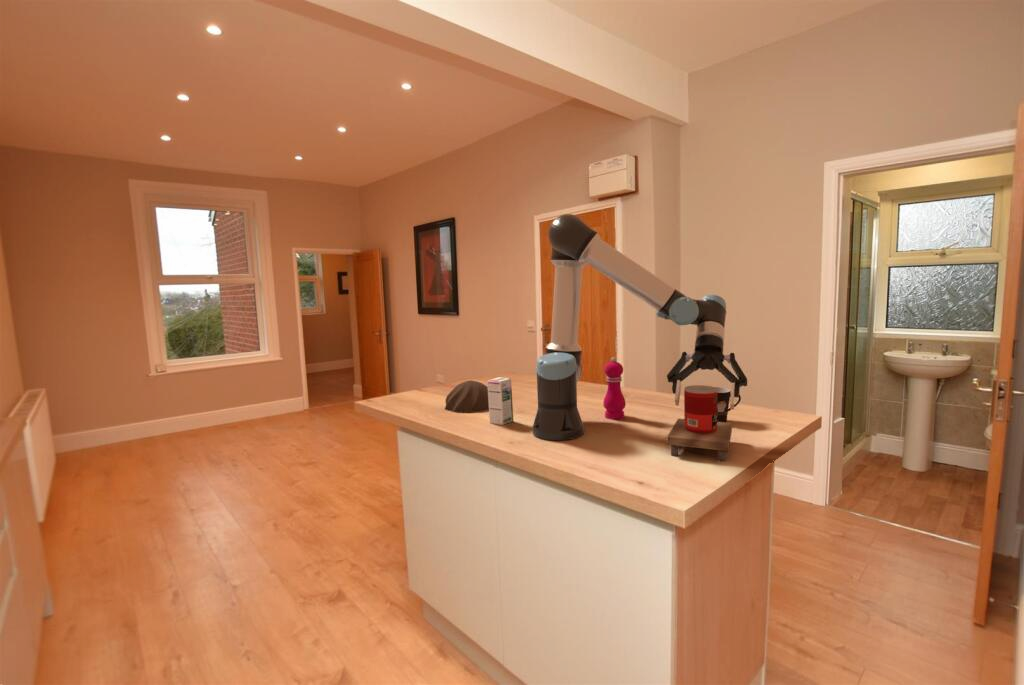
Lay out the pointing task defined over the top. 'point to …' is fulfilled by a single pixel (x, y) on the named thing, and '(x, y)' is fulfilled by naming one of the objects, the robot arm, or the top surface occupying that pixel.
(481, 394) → the decorative dome
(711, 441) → the walnut shelf
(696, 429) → the canned food
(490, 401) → the syrup box
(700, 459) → the top surface
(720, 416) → the coffee mug
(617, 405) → the pepper mill
